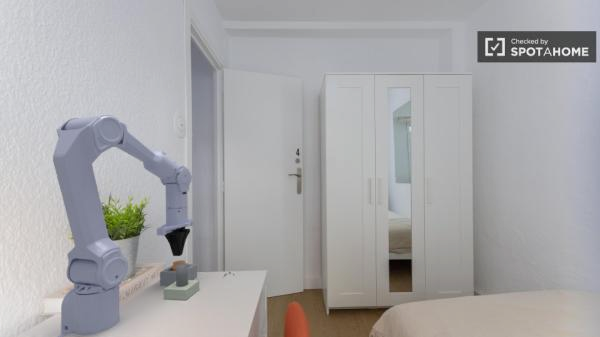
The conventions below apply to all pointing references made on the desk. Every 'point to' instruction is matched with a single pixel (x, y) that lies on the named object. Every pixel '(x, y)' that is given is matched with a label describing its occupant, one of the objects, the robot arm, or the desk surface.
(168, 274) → the grey square socket block
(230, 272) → the game controller
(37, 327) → the desk surface
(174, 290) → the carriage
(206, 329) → the desk surface
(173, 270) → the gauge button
